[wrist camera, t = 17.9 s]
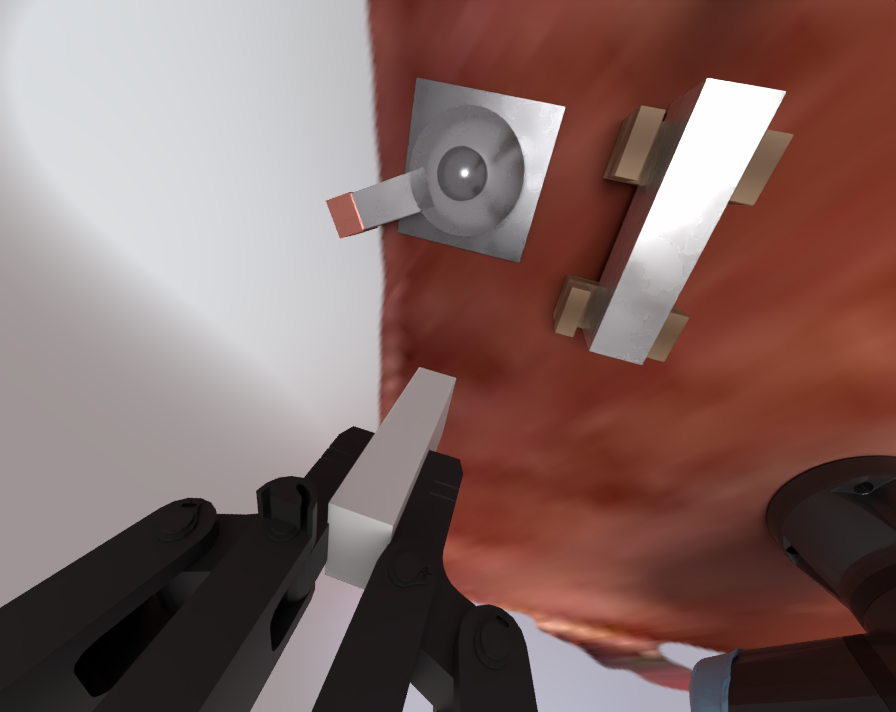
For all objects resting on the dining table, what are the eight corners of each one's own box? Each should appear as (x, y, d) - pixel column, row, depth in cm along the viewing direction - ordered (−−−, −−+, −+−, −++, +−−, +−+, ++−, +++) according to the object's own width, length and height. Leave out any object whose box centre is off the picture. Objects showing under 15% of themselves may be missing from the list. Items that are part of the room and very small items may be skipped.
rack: (646, 339, 32) (664, 362, 28) (552, 313, 33) (555, 332, 29) (748, 144, 25) (793, 134, 21) (623, 120, 26) (641, 105, 22)
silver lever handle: (512, 94, 26) (508, 76, 22) (534, 216, 30) (533, 220, 25) (332, 166, 32) (302, 162, 28) (366, 263, 35) (344, 273, 31)
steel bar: (625, 338, 31) (642, 365, 26) (581, 326, 31) (589, 350, 27) (733, 112, 23) (786, 91, 18) (672, 101, 24) (707, 78, 19)
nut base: (519, 262, 32) (519, 262, 32) (399, 231, 33) (397, 232, 33) (565, 108, 27) (565, 106, 26) (418, 79, 28) (416, 77, 27)
